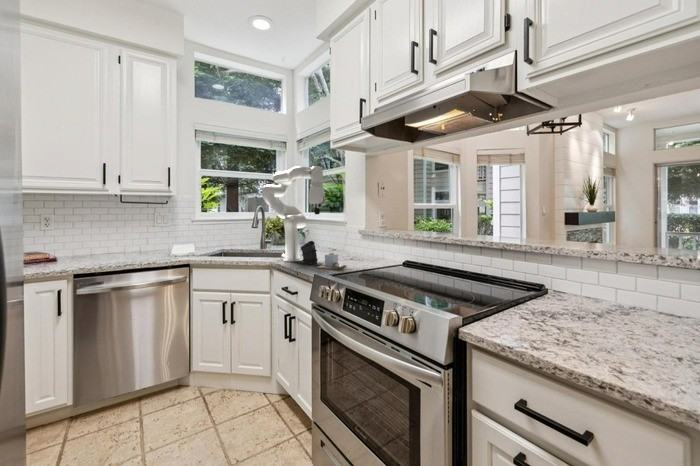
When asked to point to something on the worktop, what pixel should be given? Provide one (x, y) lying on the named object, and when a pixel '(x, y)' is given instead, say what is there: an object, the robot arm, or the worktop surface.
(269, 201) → the robot arm
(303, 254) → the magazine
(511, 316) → the worktop surface
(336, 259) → the module
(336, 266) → the rail board
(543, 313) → the worktop surface
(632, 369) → the worktop surface
